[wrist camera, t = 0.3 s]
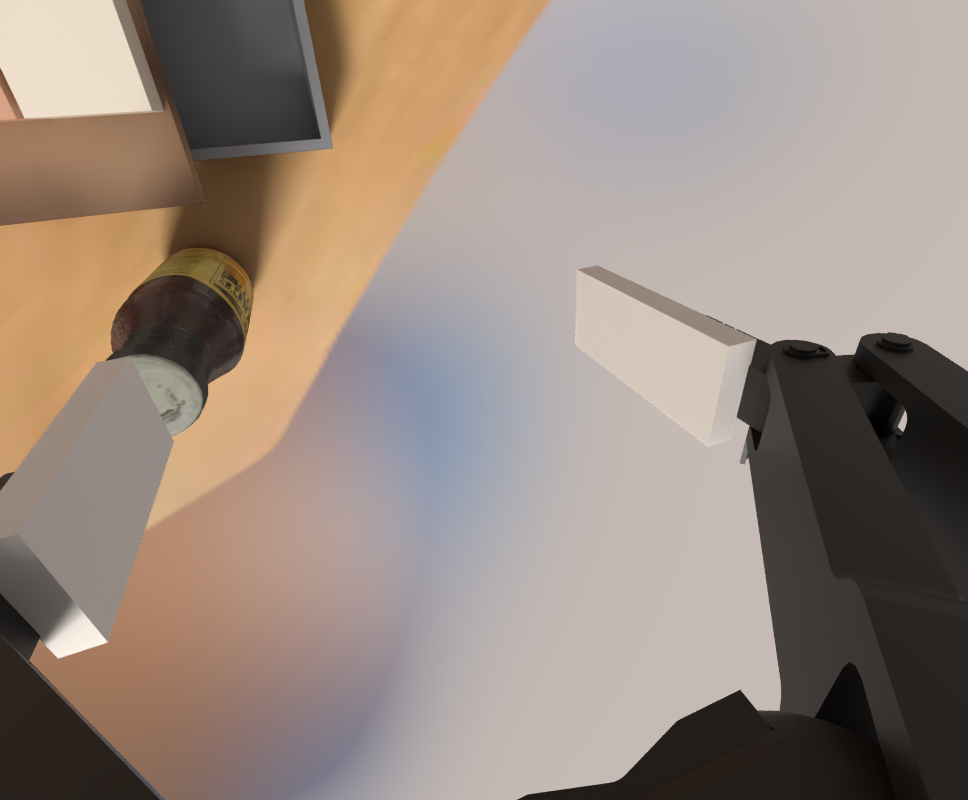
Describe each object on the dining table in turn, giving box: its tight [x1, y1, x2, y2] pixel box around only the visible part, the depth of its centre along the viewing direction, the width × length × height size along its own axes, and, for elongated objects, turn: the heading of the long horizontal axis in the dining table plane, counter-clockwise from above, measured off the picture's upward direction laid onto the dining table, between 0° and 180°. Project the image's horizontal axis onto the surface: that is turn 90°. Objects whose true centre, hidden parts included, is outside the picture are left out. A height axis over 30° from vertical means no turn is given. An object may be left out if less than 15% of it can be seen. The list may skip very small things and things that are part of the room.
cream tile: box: [0, 0, 164, 119], centre depth 22 cm, size 5×5×3 cm
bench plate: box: [0, 0, 207, 226], centre depth 26 cm, size 14×11×8 cm
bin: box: [140, 0, 333, 161], centre depth 28 cm, size 12×12×5 cm
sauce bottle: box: [106, 247, 253, 436], centre depth 28 cm, size 6×6×20 cm
